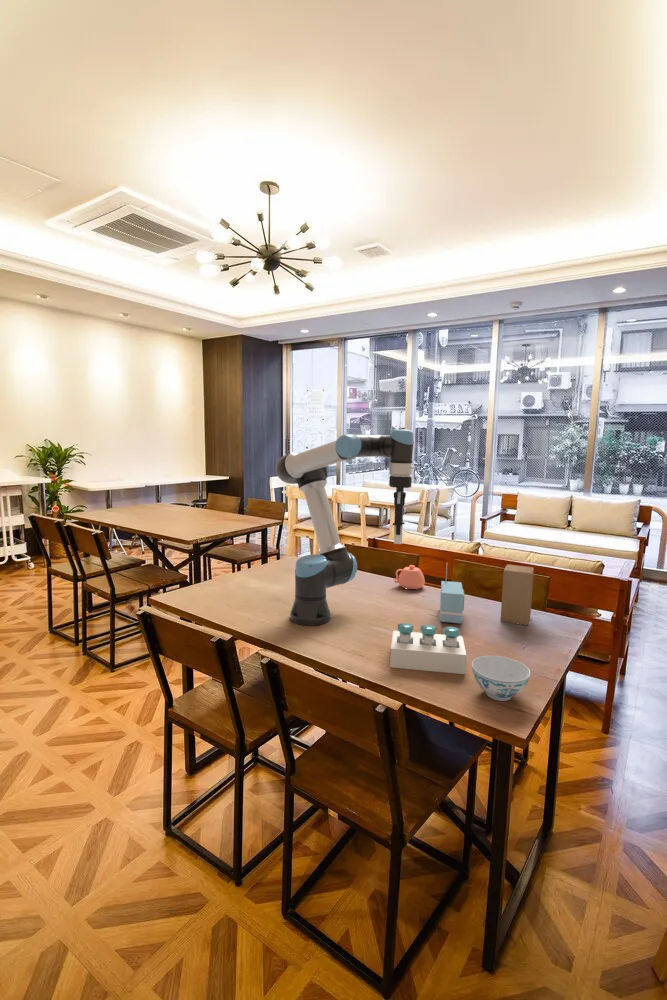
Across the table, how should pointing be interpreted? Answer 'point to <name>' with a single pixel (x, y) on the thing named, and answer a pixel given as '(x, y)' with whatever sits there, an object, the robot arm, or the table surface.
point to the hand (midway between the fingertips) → (397, 543)
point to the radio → (451, 601)
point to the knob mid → (428, 634)
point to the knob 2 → (451, 636)
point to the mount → (428, 654)
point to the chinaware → (500, 676)
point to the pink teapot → (410, 578)
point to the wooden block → (517, 594)
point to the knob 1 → (405, 632)
